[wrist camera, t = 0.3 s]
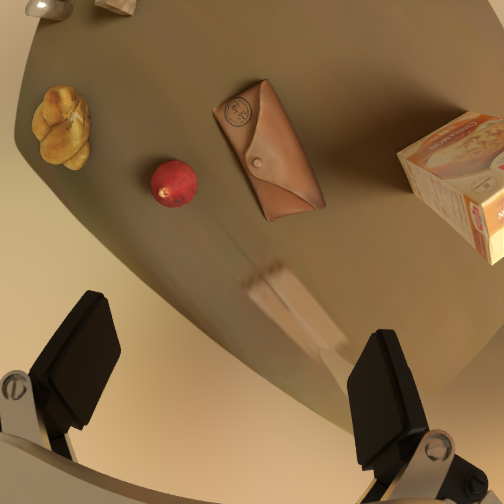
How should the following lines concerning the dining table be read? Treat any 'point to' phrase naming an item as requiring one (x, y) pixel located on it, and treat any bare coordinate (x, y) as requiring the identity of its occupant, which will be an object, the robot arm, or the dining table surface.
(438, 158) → the coffeecake box
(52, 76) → the dining table surface
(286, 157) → the sunglasses case
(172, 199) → the red round fruit
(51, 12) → the slab and cylinder
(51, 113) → the bread roll
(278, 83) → the dining table surface
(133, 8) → the strip
